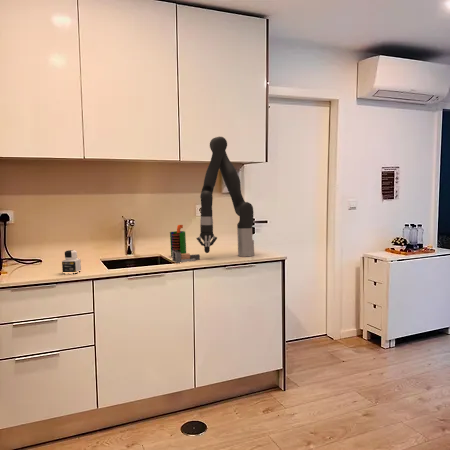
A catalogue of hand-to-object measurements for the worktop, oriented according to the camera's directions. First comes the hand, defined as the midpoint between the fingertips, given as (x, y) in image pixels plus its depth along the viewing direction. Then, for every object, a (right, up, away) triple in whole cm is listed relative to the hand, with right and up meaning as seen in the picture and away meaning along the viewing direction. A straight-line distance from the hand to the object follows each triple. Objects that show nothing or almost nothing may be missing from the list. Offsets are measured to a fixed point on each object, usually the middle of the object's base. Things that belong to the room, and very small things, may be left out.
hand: (206, 252), depth 250 cm
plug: (-10, -4, -3) cm, 11 cm away
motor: (-18, -4, +12) cm, 22 cm away
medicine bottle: (-69, -9, -32) cm, 77 cm away
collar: (-13, -4, -4) cm, 15 cm away
